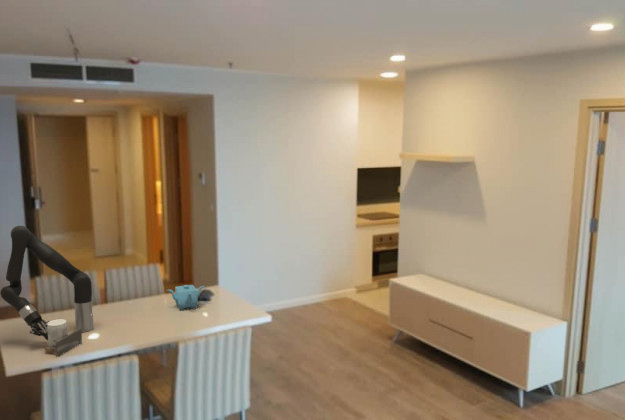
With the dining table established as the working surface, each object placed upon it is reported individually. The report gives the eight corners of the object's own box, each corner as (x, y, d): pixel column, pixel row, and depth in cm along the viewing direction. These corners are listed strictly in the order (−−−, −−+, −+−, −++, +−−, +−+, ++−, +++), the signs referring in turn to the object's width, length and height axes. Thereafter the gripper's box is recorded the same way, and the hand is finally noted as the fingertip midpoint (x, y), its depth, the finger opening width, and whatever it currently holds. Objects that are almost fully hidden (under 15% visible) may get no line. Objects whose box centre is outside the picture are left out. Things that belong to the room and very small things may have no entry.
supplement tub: (64, 343, 282) (63, 317, 280) (71, 348, 276) (70, 322, 273) (45, 348, 275) (44, 321, 273) (52, 353, 269) (50, 326, 266)
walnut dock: (43, 354, 268) (42, 339, 266) (67, 341, 285) (67, 327, 284) (58, 356, 265) (57, 342, 264) (82, 343, 283) (81, 329, 281)
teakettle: (182, 300, 355) (182, 280, 353) (206, 304, 349) (206, 283, 346) (166, 309, 337) (165, 287, 335) (190, 313, 331) (190, 291, 329)
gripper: (24, 314, 270) (45, 340, 269) (43, 306, 283) (63, 330, 282) (16, 323, 272) (37, 348, 271) (35, 314, 285) (55, 338, 284)
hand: (50, 339), depth 276 cm, fingers closed
